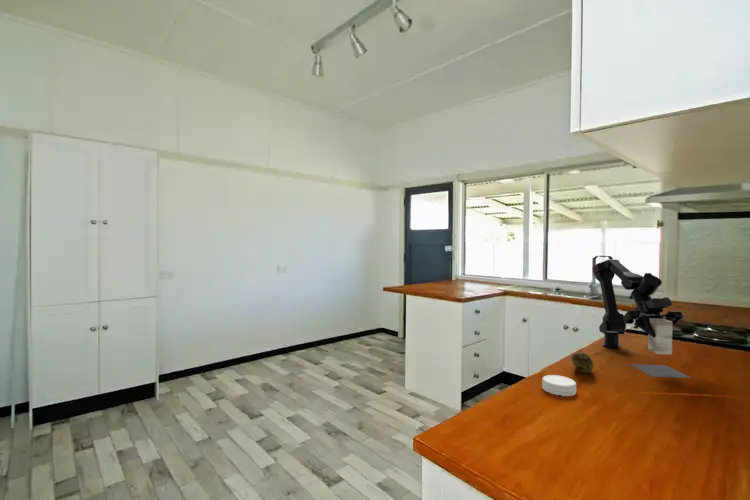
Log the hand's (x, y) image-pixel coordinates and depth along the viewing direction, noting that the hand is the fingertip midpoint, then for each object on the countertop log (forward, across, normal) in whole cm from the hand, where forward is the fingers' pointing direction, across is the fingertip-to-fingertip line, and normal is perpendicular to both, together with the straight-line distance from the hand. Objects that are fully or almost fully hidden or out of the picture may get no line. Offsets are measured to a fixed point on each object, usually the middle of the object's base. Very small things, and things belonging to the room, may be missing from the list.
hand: (662, 337), depth 132 cm
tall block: (+3, 0, +5) cm, 6 cm away
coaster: (+24, -43, -4) cm, 49 cm away
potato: (+11, -28, +9) cm, 32 cm away
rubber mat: (+9, 0, +10) cm, 14 cm away
